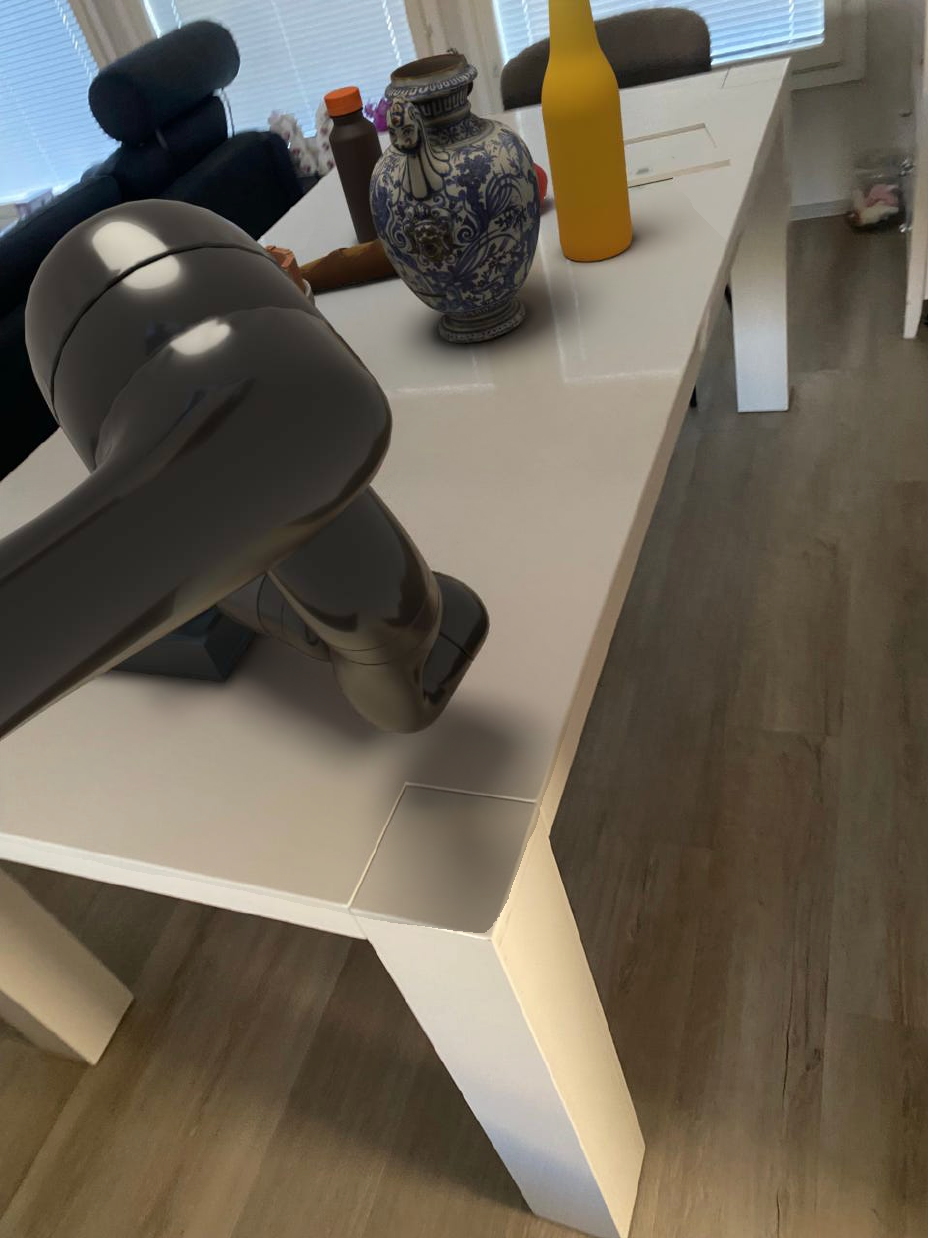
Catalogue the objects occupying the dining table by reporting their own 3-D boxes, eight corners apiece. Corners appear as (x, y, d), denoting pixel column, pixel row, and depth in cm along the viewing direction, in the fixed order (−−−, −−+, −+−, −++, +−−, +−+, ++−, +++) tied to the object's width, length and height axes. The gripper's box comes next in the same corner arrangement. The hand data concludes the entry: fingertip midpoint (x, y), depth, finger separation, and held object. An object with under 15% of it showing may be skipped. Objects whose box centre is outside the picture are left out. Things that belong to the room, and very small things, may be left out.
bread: (519, 238, 131) (513, 201, 128) (522, 252, 127) (515, 215, 124) (256, 295, 136) (243, 261, 133) (251, 311, 132) (238, 276, 129)
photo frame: (624, 179, 135) (611, 139, 148) (625, 187, 136) (612, 147, 149) (730, 156, 133) (707, 118, 146) (730, 165, 134) (707, 126, 147)
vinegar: (365, 231, 145) (325, 88, 132) (407, 225, 144) (371, 80, 130) (353, 250, 141) (310, 104, 128) (396, 244, 139) (357, 95, 126)
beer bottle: (587, 269, 119) (554, 2, 100) (548, 251, 126) (509, -3, 106) (648, 242, 121) (626, -25, 102) (606, 225, 128) (578, -28, 109)
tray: (223, 681, 77) (203, 644, 74) (74, 664, 83) (49, 629, 80) (309, 549, 88) (294, 512, 85) (171, 542, 94) (153, 507, 91)
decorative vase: (434, 287, 125) (376, 48, 106) (573, 275, 119) (537, 19, 100) (381, 372, 111) (304, 113, 92) (536, 363, 104) (486, 84, 86)
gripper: (310, 481, 72) (183, 435, 82) (161, 597, 65) (42, 531, 75) (340, 557, 77) (217, 505, 87) (204, 672, 70) (87, 601, 80)
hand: (136, 517), depth 81 cm, fingers closed on tumbler, 5 cm apart
